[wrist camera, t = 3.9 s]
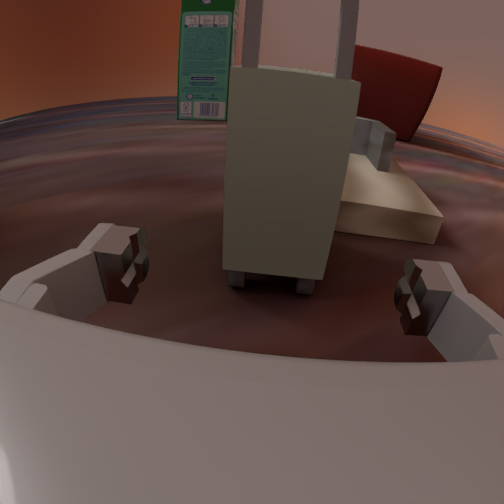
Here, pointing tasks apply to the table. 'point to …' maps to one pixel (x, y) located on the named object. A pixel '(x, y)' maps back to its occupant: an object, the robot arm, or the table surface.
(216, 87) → the milk carton
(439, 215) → the dock
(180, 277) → the table surface
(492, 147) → the table surface
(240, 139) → the pale green handled box
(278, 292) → the table surface
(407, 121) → the plant pot
